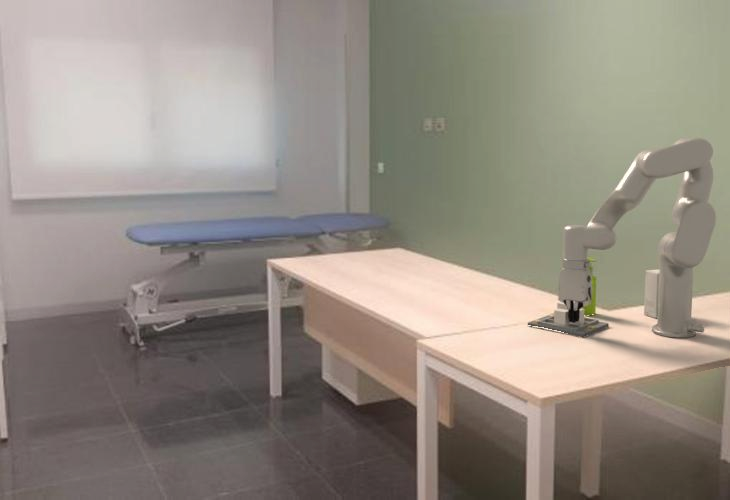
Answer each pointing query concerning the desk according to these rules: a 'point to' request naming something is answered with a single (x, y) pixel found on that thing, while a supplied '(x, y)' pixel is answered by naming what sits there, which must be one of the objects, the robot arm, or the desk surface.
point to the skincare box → (651, 293)
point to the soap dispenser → (591, 308)
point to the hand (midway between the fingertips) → (573, 321)
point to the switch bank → (571, 326)
